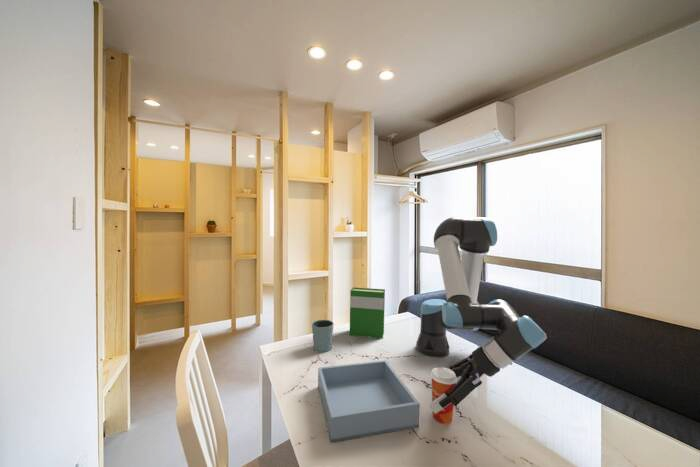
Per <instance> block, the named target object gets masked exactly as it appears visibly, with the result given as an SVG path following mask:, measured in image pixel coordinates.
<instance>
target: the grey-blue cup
mask: <svg viewBox="0 0 700 467" xmlns="http://www.w3.org/2000/svg"><path fill="white" fill-rule="evenodd" d="M311 330H312V340H313V343H312V344H313V350H314V351H316V352H318V353H327V352H330V351H331V350H332V348H333V332H334V321H332V320H330V319H318V320H314V321H312V323H311Z"/></svg>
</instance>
